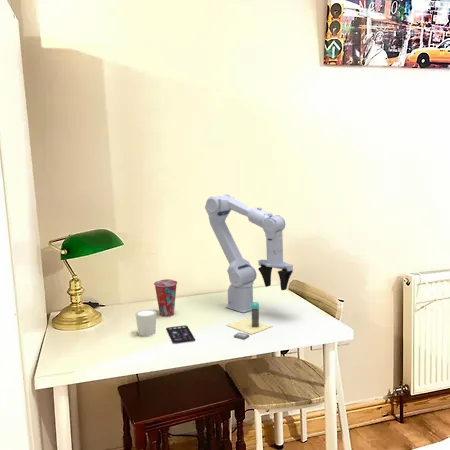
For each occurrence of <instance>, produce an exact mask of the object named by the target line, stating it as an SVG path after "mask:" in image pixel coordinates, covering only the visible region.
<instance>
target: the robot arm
mask: <svg viewBox="0 0 450 450" xmlns="http://www.w3.org/2000/svg"><path fill="white" fill-rule="evenodd" d="M204 209H205V210H206V213H207V215H208V221H209V224H210V227H211V229H212V231H213V233H214V235H215V237H216V239H217V241H218V243H219V245H220V246H219V247H221V250H222V252H223V253H224V256H225V258H226V260H227V262H228V264H229V265H228V267H227V269H226V272H227V274H228V278H229V283H230V285H228V288H227V305H226V308H227V309H230V310H234V311H237V312H240V313H246V312H251V311H252V308H251V303H253V302H254V293H253V292H254V287H253V286H254V284H255V283H254V281H256V279H257V270H256V268H254V267H253V266H252V264H251V263H250V261H248V260H247V259H245V258H243V256H242V254H241V252H240V250H239V248H238V245H237V244H236V241H235V239H234V237H233V235H232V233H231V231H230V229H229V227H228V225H227V223H226V220H227V218H228V216H229V214H230V212H231V211H234V212H236V213H238V214H239V215H242V216H245V217H246V218H247V219H248V222H250V223H251V224H254V225H256V226H258V227H259V228H262V230H263V232H264V234H265V241H266V242H265V244H266V247H265V248H266V259H259V260H258V261H257V263H258V266H259V267H258V268H257V269H258V271H259V273H260V275H261V277H262V280H263V283H264V287H265V288H268V287H270V286H271V283H272V271H273V269H279V270H278V271H277V274H278V277H279V280H280V281H279V283H280V290H281V291H285V290H287V287H288V283H289V281H290V278H291V275H292V274H293V273H294V272H293V270H294V269H293V267H294V266H293V265H294V264H290V263H287V262H285V261H284V248H283V247H284V244H283V243H284V242H283V240H284V239H283V238H284V237H283V231H284V230H285V228H286V221H285V219H284V217H282V216H281V215H279V214H277V215H276V214H275V215H274V214H273V213H272V212H267V211H265V210H263V208H262V207H261V206H258V207H256V206H255V207H253V208H252V207H250V206H248V204H247V205H246V204H244V203H243V202H241V201H240V200H238V199H236V198H235V197H234V196H231V194H230V195H229V194H224V195H218V196H209V197H208V198H207V199H206V203H205V206H204Z"/></svg>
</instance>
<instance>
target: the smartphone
mask: <svg viewBox="0 0 450 450" xmlns="http://www.w3.org/2000/svg"><path fill="white" fill-rule="evenodd" d="M166 330H167V331H166ZM165 331H166V333H167V335H168V337H169V339H171V340H170V341H171V344H172V345H178V344H186V343H187V344H188V343H195V342H196V338H195V336H194V335H193V332H192V331H191V329H190V328H189V326H188V325H187V324H185V325H177V326H170V327H169V326H168V327H166V328H165Z"/></svg>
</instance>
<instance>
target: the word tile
mask: <svg viewBox="0 0 450 450" xmlns="http://www.w3.org/2000/svg"><path fill="white" fill-rule="evenodd" d="M249 337H250V334H248V333H244V332H243V333H242V332H237V333H236V334H234V335H233V338H236V339H241V340H246V339H248V338H249Z"/></svg>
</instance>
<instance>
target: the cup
mask: <svg viewBox="0 0 450 450" xmlns="http://www.w3.org/2000/svg"><path fill="white" fill-rule="evenodd" d="M177 284H178V281H177V280H174V279H170V278H169V279H167V278H166V279H165V278H164V279H162V280H161V279H160V280H158V281H155V282H154V283H153V285H154V288H155V294H156V301H157V305H158V309H159V310H158V311H159V315H160V316H161V317H165V318H166V317H167V318H168V317H171V316H174V315H175V307H176V296H177V295H176V294H177Z"/></svg>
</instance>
